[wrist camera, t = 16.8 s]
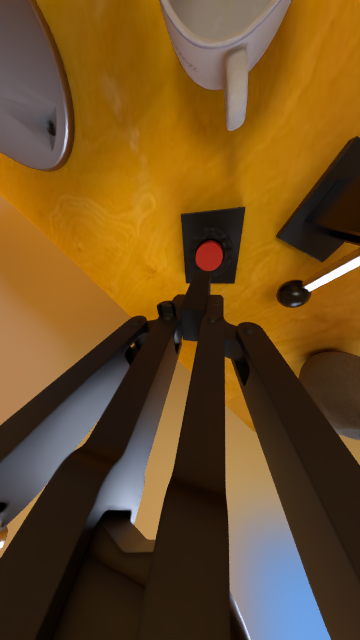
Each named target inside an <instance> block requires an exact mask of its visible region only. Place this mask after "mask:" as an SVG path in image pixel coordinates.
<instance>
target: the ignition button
mask: <svg viewBox="0 0 360 640" xmlns="http://www.w3.org/2000/svg"><path fill="white" fill-rule="evenodd" d="M195 258H196V263H197V265H198V266H199V267H200V268H201V269H202V270H205V271H212V270H214V269H216V268H217V267H219V265H220V264H221V262H222V259H223V250H222V247H221V245H220V244H219V243H218V242H216V241H213V240H209V241H206V242H204V243H202V244H201V245H200V247H199V248H198V250H197V252H196V257H195Z"/></svg>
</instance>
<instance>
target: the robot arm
mask: <svg viewBox="0 0 360 640" xmlns="http://www.w3.org/2000/svg"><path fill="white" fill-rule="evenodd" d="M73 141H74V112H73V104H72V98H71V93H70V88H69V84H68V80H67V76H66V72H65V69H64V65H63V62H62V59H61V57H60V54H59V51H58V48H57V46H56V43H55V41H54V38H53V36H52V34H51V31H50V29H49V27H48V25H47V23H46V21H45V19H44V17H43V15H42V13H41V11H40V9H39V7H38V6H37V4H36V2H35V0H0V152H1V153H3V154H4V155H6V156H8V157H10V158H12V159H13V160H15V161H17V162H19V163H21V164H23V165H25V166H28V167H30V168H33V169H38V170H43V171H55V170H58V169H60V168H61V167H62V166H63V165H64V164H65V163H66V162H67V160H68V158H69V156H70V154H71V151H72V147H73ZM210 286H211V272H195V274H194V276H193V279H192V281H191V283H190V286H189V288H188V290H187V293H186V295H180V294H178V295H177V296H175V297H174V298H173V300H172V301H163V302H161V303H159V304H158V305H157V310H158V314H159V317H158V319H156V320H151V321H147V319H146V317H144V316H135V317H132V318H131V319H129V320H128V321H127V322H125V323H124V324H123V325H122V326H121V327H119V328H118V329H117V330H116V331H114V332H113V333H112V334H111V335H110V336H108V337H107V338H106V339H105V340H103V341H102V342H101V343H100V344H99V345H97V346H96V347H95V348H94V349H93V350H91V351H90V352H89V353H88V354H87V355H85V356H84V357H83V358H82V359H80V360H79V361H78V362H77V363H76V364H75V365H73V366H72V367H71V368H69V369H68V370H67V371H66V372H65V373H63V374H62V375H61V376H60V377H59V378H57V379H56V380H55V381H54V382H52V383H51V384H50V385H49V386H48V387H46V388H45V389H44V390H43V391H42V392H40V393H39V394H38V395H37V396H35V397H34V398H33V399H32V400H31V401H30V402H28V403H27V404H26V405H25V406H23V407H22V408H21V409H20V410H18V411H17V412H16V413H15V414H14V415H12V416H11V417H10V418H9V419H7V420H6V421H5V422H4V423H3V424H2V425H0V548H1V547H2V546H3V544H4V542H5V540H6V537H7V533H8V529H7V527H6V525H7V524H8V523H10V521H12V520H13V519H14V518H15V517H16V516H17V515H18V514H19V513H20V512H21V511H22V510H23V509H24V508H25V507H26V506H27V505H28V504H29V503H30V502H31V501H32V500H33V499H34V498H35V497H36V495H38V493H39V492H40V491H41V490H42V489H43V487H44V486H45V485H46V484H47V483H48V484H47V485H46V487H45V489H44V490H43V492H42V493H41V495H40V497H39V498H38V500H37V501H36V503H35V504H34V506H33V508H32V509H31V511H30V512H29V514H28V516H27V517H26V519H25V520H24V522H23V524H22V525H21V527H20V528H19V530H18V531H17V533H16V535H15V536H14V538H13V539H12V541H11V543H10V544H9V546H8V547H7V549H6V551H5V552H4V554H3V555H2V557H1V558H0V640H251V639H250V637H249V634H248V631H247V629H246V626H245V623H244V621H243V619H242V616H241V614H240V611H239V609H238V607H237V604H236V602H235V600H234V598H233V596H232V594H231V592H230V590H229V534H228V511H227V501H226V488H225V357H227V358H230V359H231V361H232V364H233V367H234V370H235V373H236V376H237V378H238V381H239V384H240V387H241V390H242V393H243V396H244V398H245V401H246V404H247V407H248V410H249V413H250V415H251V418H252V421H253V424H254V427H255V430H256V433H257V435H258V438H259V441H260V444H261V447H262V450H263V453H264V455H265V458H266V460H267V464H268V467H269V470H270V472H271V475H272V478H273V481H274V484H275V487H276V490H277V493H278V495H279V498H280V501H281V504H282V507H283V510H284V512H285V515H286V518H287V521H288V524H289V527H290V530H291V532H292V535H293V538H294V541H295V544H296V547H297V550H298V552H299V555H300V557H301V561H302V564H303V566H304V569H305V572H306V575H307V578H308V581H309V584H310V586H311V589H312V592H313V594H314V597H315V599H316V602H317V605H318V607H319V610H320V613H321V615H322V618H323V621H324V623H325V626H326V628H327V631H328V633H329V635H330V637H331V640H360V465H359V464H358V463H357V461H356V460H355V458H354V457H353V455H352V454H351V453H350V451H349V450H348V448H347V447H346V445H345V444H344V443H343V441H342V440H341V438H340V437H339V436H338V434H337V433H336V431H335V430H334V429H333V427H332V426H331V424H330V423H329V422H328V420H327V419H326V417H325V416H324V415H323V413H322V412H321V410H320V409H319V408H318V406H317V405H316V403H315V402H314V400H313V399H312V398H311V396H310V395H309V393H308V392H307V391H306V389H305V388H304V386H303V385H302V384H301V382H300V381H299V379H298V378H297V377H296V375H295V374H294V372H293V371H292V370H291V368H290V367H289V365H288V364H287V363H286V361H285V360H284V358H283V357H282V355H281V354H280V353H279V351H278V350H277V348H276V347H275V346H274V344H273V343H272V341H271V340H270V339H269V337H268V336H267V334H266V333H265V332H264V330H263V329H262V328H261V327H260V326H259V325H257V324H255V323H251V322H243V323H240V324H239V325H238V326H235V325H232V324H229V323H227V322H226V321H225V320H224V317H223V297H222V296H221V295H210ZM182 336H183V340H189V341H198V343H197V348H196V353H195V359H194V364H193V369H192V375H191V380H190V385H189V390H188V396H187V401H186V406H185V411H184V416H183V422H182V427H181V432H180V437H179V443H178V449H177V453H176V459H175V464H174V469H173V473H172V477H171V479H170V482H169V484H168V487H167V491H166V494H165V498H164V502H163V507H162V511H161V516H160V521H159V526H158V531H157V535H156V540H148V539H146V538H145V537H144V536H143V535H142V534H141V532H140V531H139V530H138V529H137V528H136V527H135V526H134V522H135V518H136V515H137V511H138V507H139V504H140V500H141V497H142V493H143V487H144V478H145V470H146V466H147V462H148V459H149V455H150V452H151V449H152V445H153V442H154V438H155V435H156V432H157V428H158V425H159V421H160V418H161V414H162V411H163V407H164V404H165V401H166V397H167V394H168V390H169V387H170V384H171V380H172V377H173V373H174V370H175V366H176V363H177V360H178V356H179V353H180V349H181V346H182V341H181V339H182ZM133 343H134V346H133V347H132V348H131V345H132V344H133ZM100 417H101V418H100ZM99 418H100V419H99ZM98 420H99V421H98ZM97 421H98V423H97V425H96V426H95V428H94V430H93V432H92V433H91V435H90V437H89V438H88V440H87V441H86V443H85V444H84V445H83V446H82V447H80V448H78V449H77V450H75V448H76V447H77V446H78V445H79V443H80V442H81V441H82V439H83V438H84V437H85V436H86V435H87V433H88V432H89V431H90V430H91V428H92V427H93V426H94V425H95V423H96V422H97ZM74 450H75V451H74Z"/></svg>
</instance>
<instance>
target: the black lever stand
mask: <svg viewBox="0 0 360 640" xmlns="http://www.w3.org/2000/svg"><path fill="white" fill-rule="evenodd" d="M276 237H278V238H279V239H281V240H283V241H285V242H287V243H288V244H290V245H292V246H294V247H296V248H297V249H299V250H301V251H303V252H305V253H306V254H308V255H310V256H312V257H314V258H315V259H317V260H319V261H321V262H323V261H325V260H326V259H327V258H328V257H329V256H330V255H331V254H332V253H333V252H334V251H336V250H337V249H338V248H339V247H340V246H341V245H342V244H343V243H344V242H347V243H351V244H354V245H357V246H360V138H359V137H358V136H356V137H354V138H352V139H350V140H349V141H348V143H347V144H346V145H345V146H344V148H343V149H342V150H341V152H340V153H339V154H338V156H337V157H336V158H335V159H334V161H333V162H332V163H331V165H330V166H329V167H328V169H327V170H326V171H325V173H324V174H323V175H322V176H321V178H320V179H319V180H318V182H317V183H316V184H315V186H314V187H313V188H312V189H311V191H310V192H309V193H308V195H307V196H306V197H305V199H304V200H303V201H302V202H301V204H300V205H299V206H298V208H297V209H296V210H295V212H294V213H293V214H292V216H291V217H290V218H289V219H288V221H287V222H286V223H285V225H284V226H283V227H282V229H281V230H280V231H279V232H278V234H277V235H276Z"/></svg>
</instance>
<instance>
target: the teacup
mask: <svg viewBox="0 0 360 640" xmlns="http://www.w3.org/2000/svg"><path fill="white" fill-rule="evenodd" d="M159 1H160V5H161V8H162V12H163V16H164V20H165V23H166V26H167V29H168V33H169V36H170V39H171V42H172V45H173V48H174V50H175V52H176V55H177V57H178V59H179V61H180V63H181V65H182V67H183V68H184V70H185V71H186V73H187V74H188V76H189V77H190V78H191V79H192V80H193V81H194V82H195V83H197V84H198V85H200V86H202V87H203V88H206V89H210V90H220V89H224V96H225V113H226V128H227V130H228V131H233V130H235V129H237V128H239V127H240V126H241V125H242V124H243V122H244V120H245V115H246V105H247V92H248V72H249V71H250V70H251V69H252V68H253V67H254V66H255V65H256V63H257V62H258V61H259V60H260V58H261V57H262V55H263V54H264V53H265V51H266V50H267V48H268V46H269V45H270V43H271V41H272V39H273V38H274V36H275V34H276V32H277V30H278V28H279V26H280V24H281V22H282V21H283V18H284V16H285V14H286V12H287V10H288V8H289V5H290V3H291V1H292V0H159Z"/></svg>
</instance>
